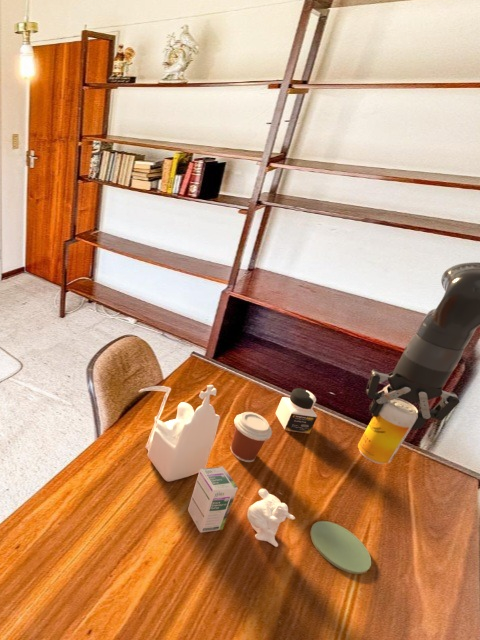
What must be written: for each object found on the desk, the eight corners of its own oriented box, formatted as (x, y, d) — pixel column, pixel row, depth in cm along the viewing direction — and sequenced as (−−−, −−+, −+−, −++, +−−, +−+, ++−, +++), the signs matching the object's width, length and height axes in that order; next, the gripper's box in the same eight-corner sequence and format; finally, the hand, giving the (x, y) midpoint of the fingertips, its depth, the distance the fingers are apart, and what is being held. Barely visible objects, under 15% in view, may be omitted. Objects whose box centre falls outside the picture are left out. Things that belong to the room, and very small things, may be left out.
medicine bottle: (284, 430, 119) (297, 400, 114) (274, 413, 126) (286, 384, 121) (309, 434, 118) (324, 403, 113) (298, 416, 125) (312, 387, 120)
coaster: (365, 539, 90) (367, 537, 90) (373, 585, 82) (375, 583, 81) (309, 514, 95) (310, 512, 95) (310, 555, 87) (312, 552, 86)
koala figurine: (288, 550, 87) (307, 515, 82) (261, 554, 86) (278, 519, 81) (263, 514, 95) (278, 480, 90) (237, 516, 94) (251, 482, 89)
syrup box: (199, 533, 90) (215, 491, 84) (186, 509, 95) (200, 467, 89) (222, 530, 91) (239, 488, 85) (208, 506, 96) (222, 464, 90)
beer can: (359, 440, 95) (385, 391, 89) (391, 455, 91) (421, 406, 85) (354, 453, 91) (381, 404, 85) (387, 470, 87) (419, 420, 81)
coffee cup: (267, 456, 110) (280, 424, 105) (250, 471, 106) (263, 439, 100) (236, 435, 117) (247, 404, 112) (218, 448, 112) (229, 416, 107)
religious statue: (175, 434, 116) (198, 351, 103) (208, 472, 105) (238, 384, 92) (124, 448, 111) (141, 362, 98) (153, 490, 100) (177, 398, 87)
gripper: (386, 355, 80) (354, 417, 87) (485, 382, 73) (441, 447, 80) (380, 338, 86) (350, 398, 93) (471, 361, 79) (431, 424, 86)
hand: (392, 420), depth 87 cm, fingers closed on beer can, 6 cm apart
